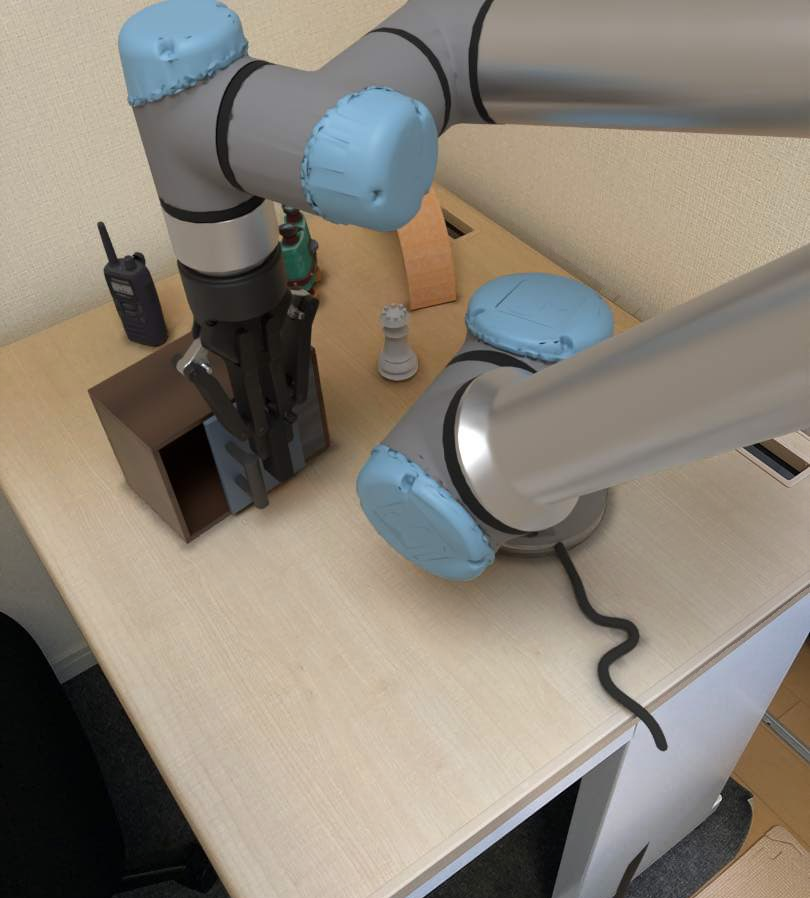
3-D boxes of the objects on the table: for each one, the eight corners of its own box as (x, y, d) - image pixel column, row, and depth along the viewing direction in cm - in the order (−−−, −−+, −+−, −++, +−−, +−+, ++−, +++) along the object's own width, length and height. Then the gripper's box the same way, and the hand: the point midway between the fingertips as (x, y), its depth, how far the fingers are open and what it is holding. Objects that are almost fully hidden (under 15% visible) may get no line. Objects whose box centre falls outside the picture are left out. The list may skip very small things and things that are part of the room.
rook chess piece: (396, 389, 98) (391, 330, 92) (369, 369, 101) (363, 310, 94) (426, 369, 100) (424, 310, 94) (400, 350, 102) (396, 291, 96)
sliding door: (332, 487, 89) (317, 396, 80) (259, 538, 86) (234, 449, 76) (302, 462, 91) (284, 371, 82) (230, 511, 88) (202, 422, 78)
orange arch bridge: (409, 310, 107) (405, 235, 99) (367, 219, 119) (360, 146, 111) (456, 300, 108) (456, 224, 100) (409, 211, 120) (406, 137, 112)
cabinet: (331, 446, 94) (315, 347, 84) (187, 544, 87) (150, 448, 76) (269, 398, 99) (247, 299, 89) (128, 486, 92) (86, 389, 82)
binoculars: (228, 199, 106) (312, 188, 105) (253, 275, 114) (331, 266, 113) (217, 243, 100) (305, 232, 99) (244, 320, 109) (326, 311, 107)
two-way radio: (121, 340, 106) (78, 226, 94) (142, 317, 109) (103, 203, 97) (160, 351, 105) (122, 236, 93) (181, 328, 107) (147, 213, 95)
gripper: (267, 190, 69) (308, 416, 87) (121, 266, 64) (197, 488, 82) (331, 229, 65) (359, 456, 84) (181, 312, 60) (246, 534, 79)
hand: (279, 472), depth 83 cm, fingers closed
